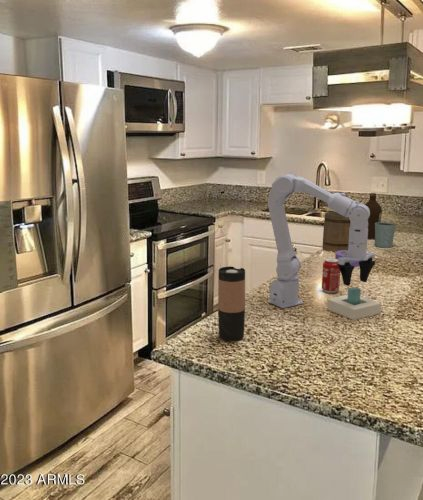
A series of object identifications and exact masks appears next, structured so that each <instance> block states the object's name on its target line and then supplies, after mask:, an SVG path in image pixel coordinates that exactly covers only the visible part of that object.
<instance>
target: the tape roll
mask: <svg viewBox="0 0 423 500" xmlns="http://www.w3.org/2000/svg"><path fill="white" fill-rule="evenodd" d="M345 255H348V250H341V251H337V252H335V255H334V259H338V258H340V257H343V256H345ZM350 264H351V266H354V268H357V267H360V266H359V262H353V263H350Z"/></svg>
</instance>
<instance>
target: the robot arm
mask: <svg viewBox="0 0 423 500" xmlns="http://www.w3.org/2000/svg"><path fill="white" fill-rule="evenodd" d="M293 193H294V194H296V193H297V194H299V193H305V194H308V195H310V196H312V197H314V198H316V199H318V200H321V202H322V201H323V202H324V203H326V204H327V206H328V209H329V210H331V211H332V212H337V213H339V214H341V215H343V216H345V217H349V219H350V221H351V222H350V228H349V243H348V255H345V256H343V257H340V258H338V263H337V266H338V267H339V269H340V275H341V279H342V284H343V285H344V286H348V287H349V286H350V285H351V281H352V274H353V271H354V269H355V267H354V266H351V264H350V263H353V262H359V266H358V267H359V281H360V282H362V283H367V281H368V279H369V276H370V273H371V271H372V269H373V267H374V266H375V265H376V260H375V258H376V254H375V253H374V252H367V250H368V239H367V238H368V218H369V216H370V210H369V208H368V207H367V206H366V205H365V204H366V203H361V202H360V201H359V200H354V199H352V198H349V197H347V196H346V193H344V192H335V193H331V192H330V191H328V190H326V189H324V188H323V187H321V186H320V185H317V184H316V183H314V182H312V181H310V180H309V179H306V178H305V177H303V176H300V175H297V174H295V173H292V172H291V173H290V172H289V173H286V174H282V175H279V176H278V177H276V178H275V180H274V181H273V182H272V183H271V188H270V192H269V195H268V197H267V207H268V211H269V216H270V217H269V218H270V221H271V226H272V230H273V235H274V241H275V244H276V250H277V254H276V255H277V256H276V263H277V264H276V267H275V268H276V269H275V270H276V275H277V278H276V279H274V280H272V281H271V282H270V284H269V300H268V303H270V304H272V305H275V306H276V307H278V308H281V309H285V308H290V307H294V306H298V305H303V304H304V301H302V300H299V286H300V275H299V274H298V272H299V271H300V270H301V266H302V263H301V261H300V259H299V258H298V257H297V253H296V251H295V249H294V248H293V244H292V239H291V238H292V237H291V235H290V233H291V232H290V228H289V224H288V219H287V215H286V209H285V205H284V204H285V202H286V201H287V199H288V198H289V197H290V196H291V195H292V194H293Z"/></svg>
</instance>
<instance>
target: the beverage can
mask: <svg viewBox="0 0 423 500" xmlns="http://www.w3.org/2000/svg"><path fill="white" fill-rule="evenodd" d="M337 263H338V259H335V257H334V258H332V257H331V258H330V257H329V258H328V257H327V258H325V259H324V261H323V263H322V272H321V273H322V277H321V278H322V280H321V290H323V292H324V293H327V294H336V293H337V292H338V291H339V290H340V283H341V282H340V280H341V272H340V269H339V267H338V266H337Z"/></svg>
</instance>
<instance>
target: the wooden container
mask: <svg viewBox="0 0 423 500" xmlns="http://www.w3.org/2000/svg"><path fill="white" fill-rule="evenodd" d="M350 222H351V221H350V219H349V217H345V216H343V215H341V214H339V213H337V212H335V211H327V212H325V213H324V219H323V230H322V231H323V234H322V249H323V250H324V251H326V250H327V252H331V251H332V252H333V253H336V252H337V251H341V250H348V243H349V228H350Z"/></svg>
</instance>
